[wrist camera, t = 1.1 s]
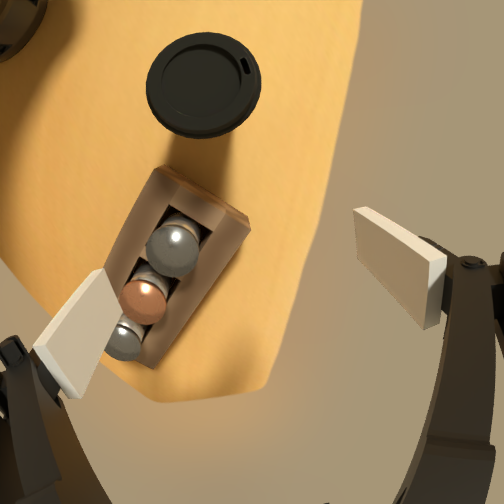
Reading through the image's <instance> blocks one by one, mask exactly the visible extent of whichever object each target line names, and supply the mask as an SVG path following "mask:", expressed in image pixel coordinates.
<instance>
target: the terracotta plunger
mask: <svg viewBox="0 0 504 504" xmlns="http://www.w3.org/2000/svg"><path fill="white" fill-rule="evenodd" d="M171 284H172V277H167V276H164V275H162V274H160V273H158V272H157V271H156V270H154V269H153V268H152V266H151V265H150V263H149V262H148V261H146V262H144V263H142V264H141V265H140V266H139V267H138V269H137V271H136V272H135V274H134V276H133V277H132V279H131V281H130V282H128V283H127V284H126V285H125V286H124V287H123V289H122V291H121V293H120V295H119V304H120V306H121V309H122V311H123V313H124V314H125V315H126V316H127V317H128V318H129V319H131V320H132V321H134V322H136V323H139V324H145V325H148V324H153V323H156V322H158V321H159V320H160V319H161V318H162V317H163V315H164V313H165V310H166V305H167V302H166V298H167V295H168V292H169V289H170V286H171Z"/></svg>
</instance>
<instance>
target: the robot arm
mask: <svg viewBox="0 0 504 504" xmlns="http://www.w3.org/2000/svg"><path fill="white" fill-rule="evenodd" d="M46 7H47V0H0V62H3V61H5V60H7V59H9V58H11V57H12V56H14V55H15V54H16V53H17V52H18V51H20V50H21V49H22V48H23V47H24V45H25V44H26V43H27V42H28V41H29V40H30V38H31V37H32V36H33V34H34V33H35V31H36V30H37V28H38V26H39V24H40V22H41V20H42V18H43V16H44V13H45V10H46ZM353 213H354V223H355V234H356V245H357V258H358V260H359V261H360V262H361V263H362V264H363V265H364V266H365V267H366V268H367V269H368V270H369V271H370V272H371V273H372V274H373V275H374V276H375V277H376V279H377V280H378V281H379V282H380V283H381V284H382V285H383V286H384V287H385V288H386V289H387V290H388V291H389V292H390V294H391V295H392V296H393V297H394V298H395V299H396V300H397V301H398V302H399V303H400V305H401V306H402V307H403V308H404V309H405V310H406V311H407V312H408V313H409V314H410V316H411V317H412V318H413V319H414V320H415V321H416V322H417V324H418V325H419V326H420V327H421V328H422V329H423V330H425V329H427V328H430V327H432V326H435V325H437V324H439V322H440V317H441V310H442V311H444V313H445V314H447V315H448V316H447V321H446V327H445V332H444V337H443V339H444V341H443V347H442V353H441V358H440V363H439V369H438V373H437V378H436V382H435V386H434V391H433V395H432V399H431V402H430V406H429V410H428V413H427V417H426V420H425V424H424V427H423V430H422V433H421V436H420V439H419V442H418V445H417V448H416V451H415V454H414V456H413V459H412V461H411V464H410V466H409V469H408V472H407V474H406V477H405V479H404V481H403V483H402V486H401V488H400V490H399V492H398V494H397V496H396V498H395V500H394V502H393V504H485V501H486V498H487V494H488V490H489V486H490V482H491V477H492V473H493V468H494V463H495V454H496V450H495V446H493V445H490V442H489V440H490V432H491V424H492V416H493V406H494V393H495V368H496V363H495V362H496V354H495V353H496V349H495V333H496V336H497V339H498V342H499V345H500V348H501V351H502V354H503V357H504V252H503V253H502V254H501V259H500V264H499V265H491V266H488V265H487V263H486V262H485V261H484V260H483V259H481V258H478V257H475V256H462V257H457V256H456V255H454V254H452V253H451V252H449V251H448V250H446V249H445V248H443V247H441V246H440V245H437V243H435V242H434V241H432V240H430V239H428V238H424V237H421V236H418V237H417V236H415V235H414V234H412V233H411V232H409V231H407V230H406V229H404V228H402V227H401V226H399V225H398V224H396V223H394V222H393V221H391V220H389V219H387V218H386V217H384V216H382V215H381V214H379V213H377V212H375V211H374V210H372V209H370V208H368V207H367V206H366V207H361V208H356V209H353ZM122 313H123V311H122V309H121V306H120V304H119V302H118V300H117V298H116V295H115V293H114V291H113V288H112V286H111V284H110V281H109V279H108V277H107V274H106V272H105V269H104V268H102V269H98V270H94V271H92V272H91V273H90V274H89V276H88V277H87V278H86V279H85V280H84V281H83V283H82V284H81V285H80V286H79V287H78V288H77V290H76V291H75V292H74V293H73V294H72V296H71V297H70V298H69V299H68V300H67V302H66V303H65V304H64V305H63V307H62V308H61V309H60V310H59V312H58V313H57V314H56V315H55V317H54V318H53V319H52V321H51V322H50V323H49V324H48V326H47V327H46V328H45V330H44V331H43V332H42V334H41V335H40V337H39V338H38V339H37V340H36V342H35V343H34V344H33V346H32V347H33V348H32V350H31V351H30V353H28V352H27V350H26V348H25V347H24V345H23V343H22V342H21V341H20V339H19V337H18V336H17V335H14V336H10V337H8V338H7V339H5V340H4V341H3V342H1V343H0V360H1V361H2V363H3V364H4V366H5V367H6V371H3V372H0V411H1V412H2V413H3V414H4V417H3V418H2V417H1V416H0V504H112V503H111V501H110V499H109V498H108V496H107V494H106V493H105V491H104V489H103V487H102V486H101V484H100V482H99V480H98V478H97V477H96V475H95V473H94V471H93V469H92V467H91V465H90V463H89V461H88V459H87V457H86V455H85V453H84V451H83V449H82V447H81V445H80V443H79V440H78V438H77V436H76V434H75V431H74V429H73V426H72V424H71V422H70V419H69V417H68V414H67V412H66V409H65V406H64V404H63V401H62V400H61V398H60V397H59V396H58V392H59V390H60V388H61V389H62V391H63V392H64V393H65V395H66V396H67V397H68V398H69V399H70V398H71V399H72V398H73V399H78V398H82V397H83V395H84V393H85V390H86V388H87V386H88V383H89V381H90V379H91V377H92V374H93V372H94V370H95V368H96V366H97V364H98V361H99V359H100V357H101V355H102V353H103V351H104V349H105V347H106V345H107V343H108V341H109V338H110V336H111V334H112V332H113V330H114V328H115V326H116V324H117V322H118V321H119V319H120V317H121V315H122ZM325 504H329V503H325Z"/></svg>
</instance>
